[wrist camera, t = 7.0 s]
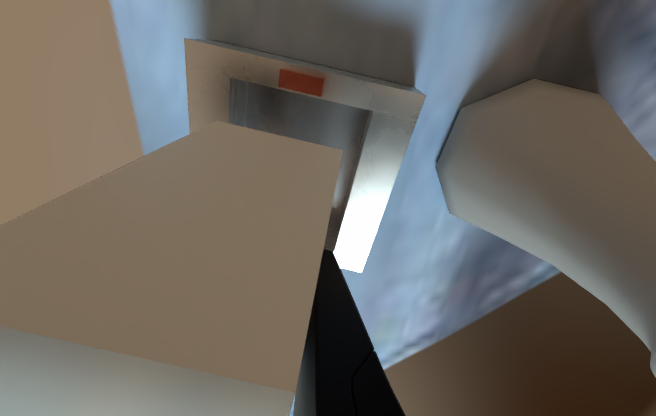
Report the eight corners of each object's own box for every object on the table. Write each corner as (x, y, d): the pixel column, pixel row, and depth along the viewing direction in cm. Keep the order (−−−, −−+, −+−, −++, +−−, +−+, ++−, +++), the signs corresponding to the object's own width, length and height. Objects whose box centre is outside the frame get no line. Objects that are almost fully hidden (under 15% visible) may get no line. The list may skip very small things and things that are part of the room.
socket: (361, 243, 17) (361, 279, 14) (217, 210, 17) (191, 240, 14) (414, 87, 12) (428, 97, 9) (216, 40, 12) (176, 37, 9)
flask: (439, 87, 12) (633, 181, 3) (629, 66, 11) (1619, 126, 2) (429, 224, 16) (512, 440, 7) (572, 219, 14) (881, 468, 6)
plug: (312, 275, 11) (256, 533, 5) (218, 254, 11) (52, 488, 5) (342, 150, 8) (294, 393, 2) (217, 120, 8) (-143, 293, 2)
